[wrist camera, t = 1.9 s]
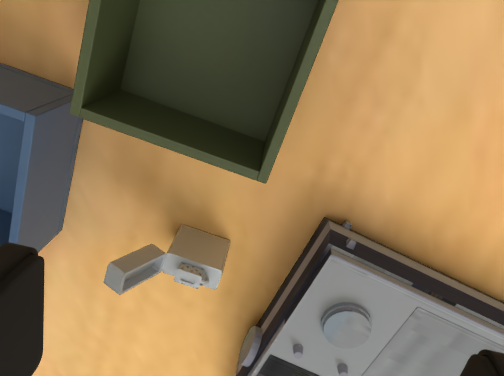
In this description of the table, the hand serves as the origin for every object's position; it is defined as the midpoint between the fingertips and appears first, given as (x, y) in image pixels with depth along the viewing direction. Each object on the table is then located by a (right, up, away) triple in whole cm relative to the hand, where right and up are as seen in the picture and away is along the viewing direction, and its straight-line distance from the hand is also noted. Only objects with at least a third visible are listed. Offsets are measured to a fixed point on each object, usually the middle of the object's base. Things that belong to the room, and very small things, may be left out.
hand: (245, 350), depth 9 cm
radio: (+12, -11, +28) cm, 32 cm away
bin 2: (-2, +13, +19) cm, 23 cm away
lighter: (-5, 0, +25) cm, 25 cm away
